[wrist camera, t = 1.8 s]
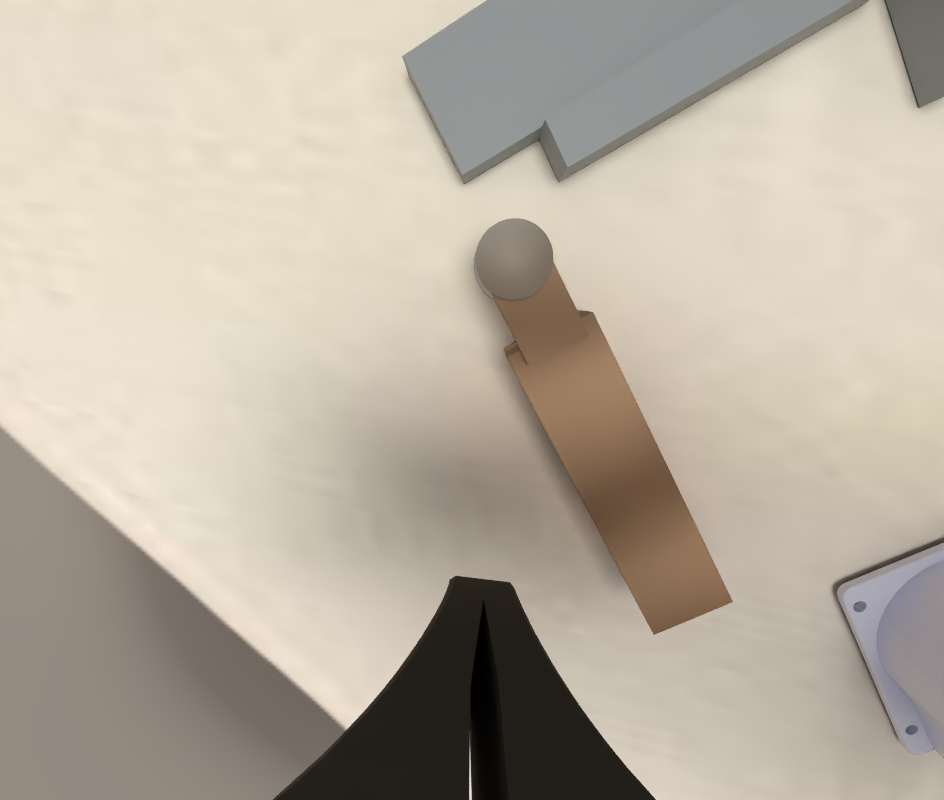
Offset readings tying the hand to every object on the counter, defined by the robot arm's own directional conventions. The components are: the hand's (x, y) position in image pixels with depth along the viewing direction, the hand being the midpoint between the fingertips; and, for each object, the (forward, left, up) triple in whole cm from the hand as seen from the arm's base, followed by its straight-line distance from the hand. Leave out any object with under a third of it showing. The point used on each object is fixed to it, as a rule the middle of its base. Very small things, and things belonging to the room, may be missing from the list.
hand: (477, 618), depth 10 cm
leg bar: (0, -5, -9) cm, 10 cm away
